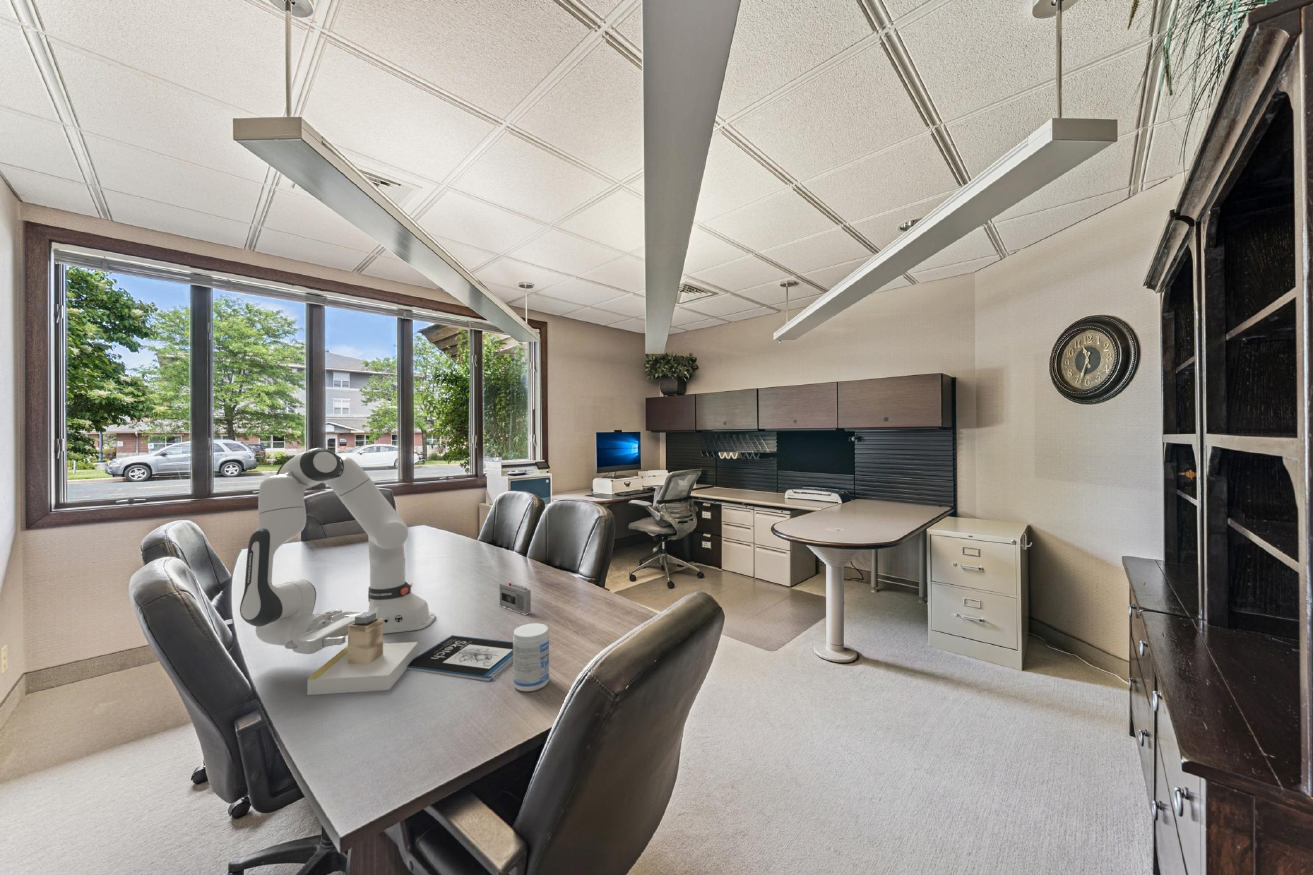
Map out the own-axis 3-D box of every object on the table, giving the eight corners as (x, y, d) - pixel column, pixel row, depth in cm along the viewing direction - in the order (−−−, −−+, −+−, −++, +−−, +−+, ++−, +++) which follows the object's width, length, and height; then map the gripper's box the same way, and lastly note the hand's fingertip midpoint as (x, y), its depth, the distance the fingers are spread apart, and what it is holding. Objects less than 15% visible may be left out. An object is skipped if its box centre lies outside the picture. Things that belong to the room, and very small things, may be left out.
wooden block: (364, 653, 135) (364, 617, 135) (383, 654, 135) (382, 618, 135) (347, 663, 129) (347, 625, 129) (367, 664, 129) (367, 626, 129)
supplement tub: (549, 690, 123) (549, 635, 123) (511, 695, 121) (511, 638, 121) (549, 672, 132) (549, 621, 132) (514, 676, 130) (514, 624, 130)
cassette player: (499, 606, 184) (499, 581, 184) (505, 604, 186) (505, 579, 186) (524, 615, 175) (524, 589, 175) (530, 613, 177) (530, 587, 177)
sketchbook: (452, 639, 156) (452, 633, 156) (532, 649, 148) (532, 643, 148) (401, 670, 135) (401, 662, 135) (492, 683, 127) (492, 676, 127)
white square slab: (418, 654, 143) (418, 640, 143) (389, 690, 123) (389, 673, 123) (348, 658, 141) (348, 644, 141) (307, 695, 121) (307, 678, 121)
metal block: (364, 624, 134) (364, 611, 134) (376, 625, 134) (376, 612, 134) (355, 629, 130) (355, 616, 130) (366, 630, 130) (366, 617, 130)
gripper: (280, 635, 124) (326, 638, 122) (341, 607, 144) (382, 609, 142) (280, 658, 124) (326, 662, 122) (341, 627, 144) (382, 630, 142)
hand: (356, 633), depth 132 cm, fingers open, 8 cm apart
